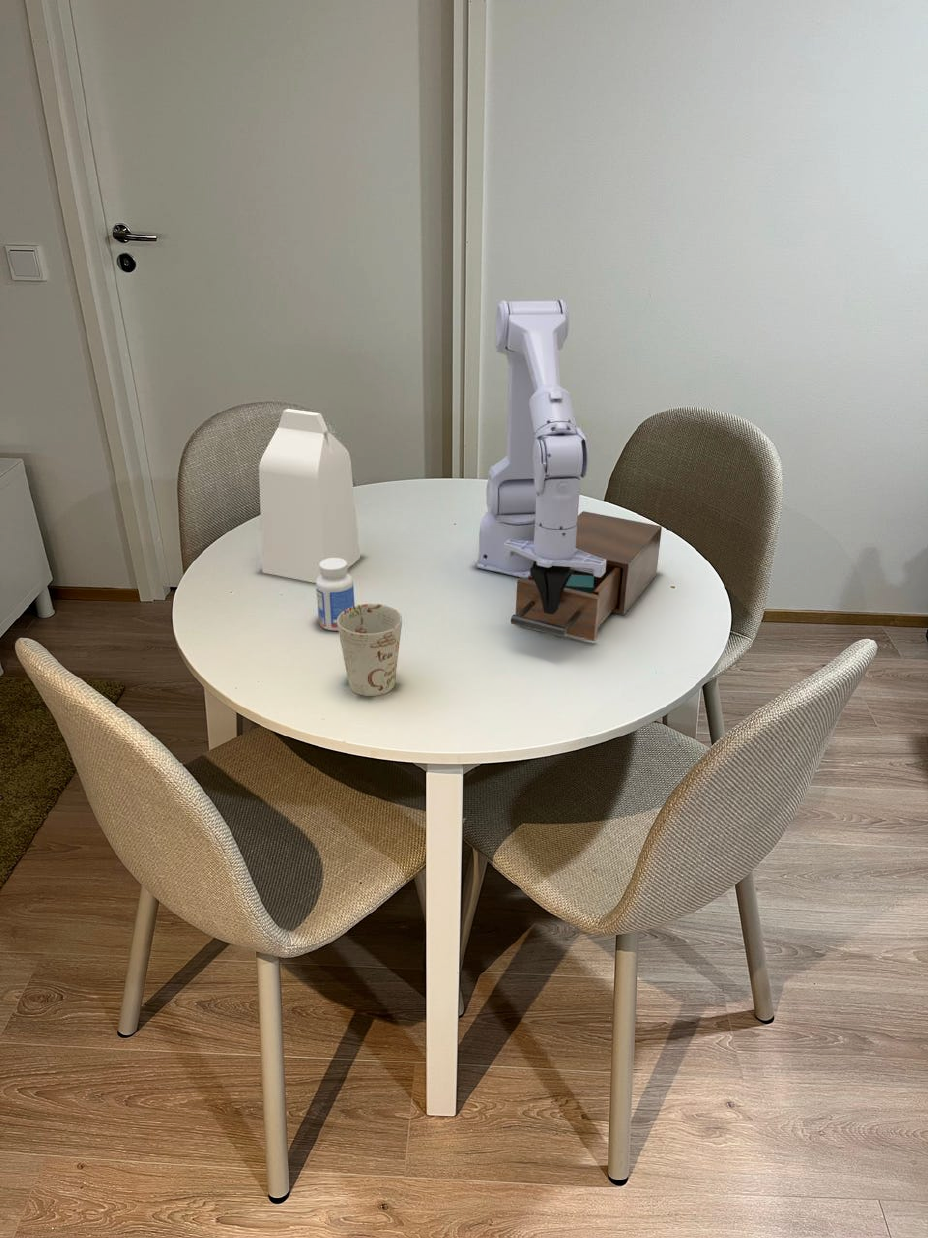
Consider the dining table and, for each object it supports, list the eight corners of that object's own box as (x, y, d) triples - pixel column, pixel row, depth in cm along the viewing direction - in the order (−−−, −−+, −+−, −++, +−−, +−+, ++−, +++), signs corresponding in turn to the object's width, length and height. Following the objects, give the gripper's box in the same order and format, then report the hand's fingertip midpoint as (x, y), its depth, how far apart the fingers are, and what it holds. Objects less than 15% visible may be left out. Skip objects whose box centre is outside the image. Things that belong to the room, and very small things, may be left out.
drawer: (576, 662, 135) (580, 618, 131) (495, 641, 140) (496, 598, 136) (629, 598, 152) (633, 558, 149) (555, 581, 157) (557, 542, 154)
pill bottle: (361, 618, 147) (359, 558, 143) (346, 634, 143) (343, 573, 138) (328, 612, 149) (324, 553, 144) (312, 628, 144) (308, 567, 140)
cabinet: (623, 615, 149) (628, 564, 145) (541, 596, 154) (543, 546, 150) (656, 574, 162) (662, 526, 158) (579, 557, 167) (583, 510, 163)
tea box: (550, 611, 146) (552, 584, 144) (552, 599, 149) (553, 572, 147) (591, 614, 145) (593, 587, 143) (591, 601, 148) (594, 575, 146)
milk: (262, 572, 161) (248, 417, 149) (298, 546, 170) (287, 398, 158) (327, 585, 157) (317, 426, 145) (360, 557, 166) (354, 407, 154)
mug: (354, 707, 126) (351, 639, 121) (320, 662, 135) (316, 598, 131) (413, 692, 129) (412, 625, 124) (376, 649, 139) (374, 586, 134)
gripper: (495, 521, 132) (492, 610, 139) (596, 542, 127) (588, 634, 133) (516, 504, 138) (513, 591, 144) (614, 524, 132) (606, 613, 139)
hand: (550, 610), depth 139 cm, fingers closed
